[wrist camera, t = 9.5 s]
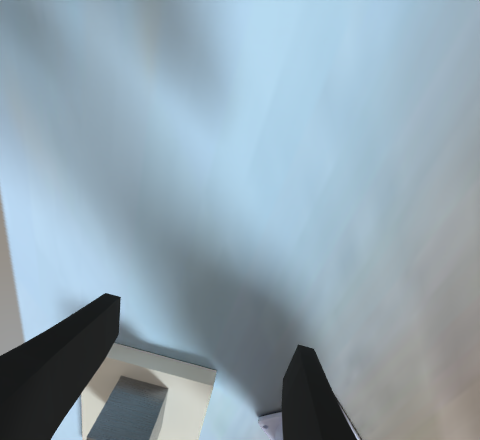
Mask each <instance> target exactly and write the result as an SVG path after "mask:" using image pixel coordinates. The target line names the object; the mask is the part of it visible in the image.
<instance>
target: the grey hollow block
mask: <svg viewBox="0 0 480 440" xmlns="http://www.w3.org/2000/svg"><path fill="white" fill-rule="evenodd" d="M167 394H168V388H165V387H161V386H158V385H154V384H150V383H147V382H143V381H139V380H136V379H132V378H128V377H125V376H121V377H120V378H119V380H118V382H117V384H116V385H115V387H114V389H113V391H112V393H111V394H110V396H109V398H108V400H107V401H106V403H105V405H104V407H103V409H102V410H101V412H100V414H99V416H98V417H97V419H96V421H95V423H94V425H93V426H92V428H91V430H90V432H89V434H88V435H87V440H157V439H158V436H159V433H160V431H161V428H162V423H163V417H164V411H165V406H166V400H167Z"/></svg>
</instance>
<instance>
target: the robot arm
mask: <svg viewBox="0 0 480 440" xmlns="http://www.w3.org/2000/svg"><path fill="white" fill-rule="evenodd" d="M120 298H121V297H118V296H115V295H111V294H107V293H105V294H103V295H102V296H100V297H99V298H97V299H96V300H94V301H92V302H91V303H89V304H88V305H86V306H85V307H83V308H82V309H80V310H79V311H77V312H75V313H74V314H72V315H71V316H69V317H68V318H66V319H64V320H63V321H61V322H59V323H58V324H56V325H55V326H53V327H51V328H50V329H48V330H46V331H45V332H43V333H41V334H39V335H38V336H36V337H34V338H32V339H31V340H29V341H27V342H25V343H24V344H22V345H20V346H18V347H17V348H14V349H12V350H11V351H9V352H7V353H5V354H3V355H1V356H0V440H51V438H52V436H53V435H54V433H55V431H56V430H57V428H58V427H59V425H60V424H61V422H62V421H63V419H64V417H65V416H66V415H67V413H68V412H69V410H70V409H71V407H72V406H73V405H74V403H75V402H76V400H77V399H78V397H79V396H80V395H81V393H82V392H83V390H84V389H85V387H86V386H87V385H88V383H89V382H90V380H91V379H92V377H93V376H94V374H95V373H96V372H97V370H98V369H99V367H100V366H101V364H102V363H103V361H104V360H105V358H106V356H107V355H108V353H109V351H110V349H111V348H112V346H113V344H114V342H115V340H116V338H117V336H118V334H119V317H120ZM258 424H259V425H260V427H261V428H262V429H263V431H264V432H265V433H266V434H267V436H268V437H269V438H270V440H361V439H360V437H359V436H358V434H357V432H356V431H355V429H354V428H353V426H352V424H351V423H350V421H349V419H348V418H347V416H346V414H345V413H344V411H343V409H342V408H341V406H340V404H339V403H338V401H337V399H336V397H335V395H334V393H333V391H332V389H331V387H330V384H329V382H328V380H327V378H326V376H325V373H324V371H323V369H322V366H321V364H320V362H319V359H318V357H317V355H316V352H315V350H314V349H313V348H309V347H305V346H301V345H298V346H297V349H296V351H295V353H294V355H293V358H292V360H291V362H290V365H289V367H288V369H287V371H286V374H285V376H284V378H283V391H282V412H279V413H275V414H270V415H266V416H261V417H259V418H258Z"/></svg>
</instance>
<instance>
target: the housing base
mask: <svg viewBox="0 0 480 440" xmlns="http://www.w3.org/2000/svg"><path fill="white" fill-rule="evenodd" d="M216 373H217V371H216V370H212V369H209V368H205V367H201V366H198V365H194V364H190V363H187V362H183V361H179V360H176V359H172V358H168V357H165V356H161V355H157V354H154V353H150V352H146V351H143V350H139V349H135V348H131V347H128V346H124V345H120V344H117V343H114V344H113V346H112V348H111V349H110V351H109V353H108V355H107V356H106V358H105V360H104V361H103V363H102V364H101V366H100V367H99V369H98V370H97V372H96V373H95V374H94V376H93V377H92V379H91V380H90V382H89V383H88V385H87V386H86V387H85V389H84V390H83V392H82V393H81V405H82V438H83V440H87V435H88V434H89V432H90V430H91V428H92V426H93V425H94V423H95V421H96V419H97V417H98V416H99V414H100V412H101V410H102V409H103V407H104V405H105V403H106V401H107V400H108V398H109V396H110V394H111V393H112V391H113V389H114V387H115V385H116V384H117V382H118V380H119V378H120V377H121V376H125V377H128V378H132V379H136V380H139V381H143V382H147V383H150V384H154V385H158V386H161V387H165V388H168V394H167V400H166V406H165V411H164V417H163V423H162V428H161V431H160V433H159V436H158V439H157V440H198V439H199V436H200V432H201V429H202V425H203V422H204V418H205V415H206V411H207V407H208V404H209V400H210V397H211V393H212V390H213V386H214V382H215V377H216Z"/></svg>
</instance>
